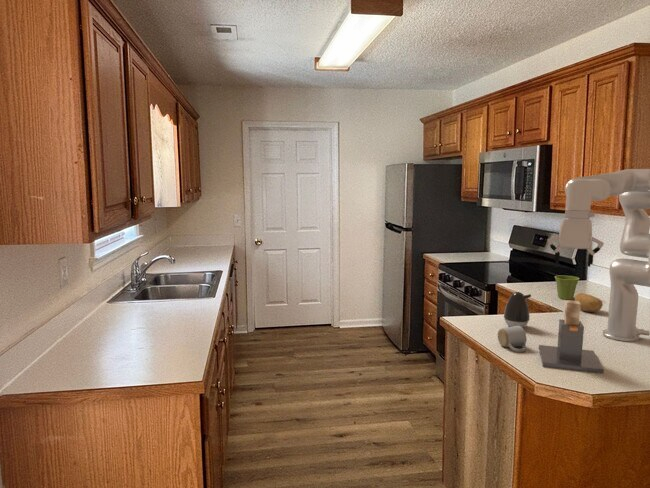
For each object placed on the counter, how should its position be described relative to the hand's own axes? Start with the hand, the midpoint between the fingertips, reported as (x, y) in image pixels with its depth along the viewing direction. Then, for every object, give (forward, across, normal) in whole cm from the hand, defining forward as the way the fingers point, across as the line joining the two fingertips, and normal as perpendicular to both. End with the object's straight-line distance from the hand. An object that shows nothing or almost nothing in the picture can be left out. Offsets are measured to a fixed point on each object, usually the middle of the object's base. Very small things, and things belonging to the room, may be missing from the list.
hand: (573, 264), depth 167 cm
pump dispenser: (+33, +18, -30) cm, 49 cm away
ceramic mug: (+34, +17, -3) cm, 38 cm away
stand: (+33, -1, +3) cm, 34 cm away
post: (+31, -1, +3) cm, 31 cm away
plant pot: (+32, -2, -94) cm, 99 cm away
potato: (+32, -11, -70) cm, 78 cm away
